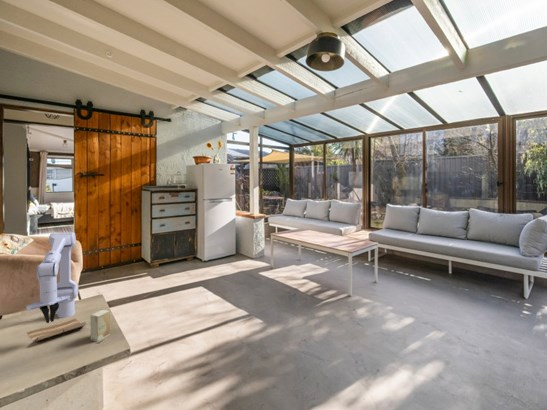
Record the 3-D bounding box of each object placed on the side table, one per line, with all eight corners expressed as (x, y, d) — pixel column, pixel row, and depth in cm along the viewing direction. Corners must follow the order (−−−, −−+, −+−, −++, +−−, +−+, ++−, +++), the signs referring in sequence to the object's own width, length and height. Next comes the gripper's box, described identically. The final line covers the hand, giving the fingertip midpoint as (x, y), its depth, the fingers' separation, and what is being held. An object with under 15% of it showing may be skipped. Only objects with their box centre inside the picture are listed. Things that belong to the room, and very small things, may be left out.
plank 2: (60, 334, 129) (59, 331, 129) (81, 327, 135) (81, 324, 136) (64, 331, 125) (63, 328, 125) (86, 324, 131) (85, 321, 132)
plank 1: (35, 342, 122) (34, 339, 122) (59, 334, 129) (58, 332, 129) (38, 339, 118) (38, 336, 118) (63, 331, 125) (62, 329, 125)
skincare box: (97, 344, 122) (97, 316, 121) (90, 342, 123) (89, 315, 123) (110, 336, 128) (110, 310, 127) (103, 335, 130) (102, 309, 129)
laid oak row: (26, 334, 128) (26, 332, 128) (74, 320, 143) (74, 318, 142) (32, 342, 122) (31, 340, 122) (81, 326, 136) (81, 324, 136)
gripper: (28, 298, 113) (30, 331, 114) (71, 288, 124) (72, 318, 125) (24, 293, 117) (25, 325, 118) (66, 284, 128) (67, 313, 129)
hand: (49, 321), depth 122 cm, fingers closed
